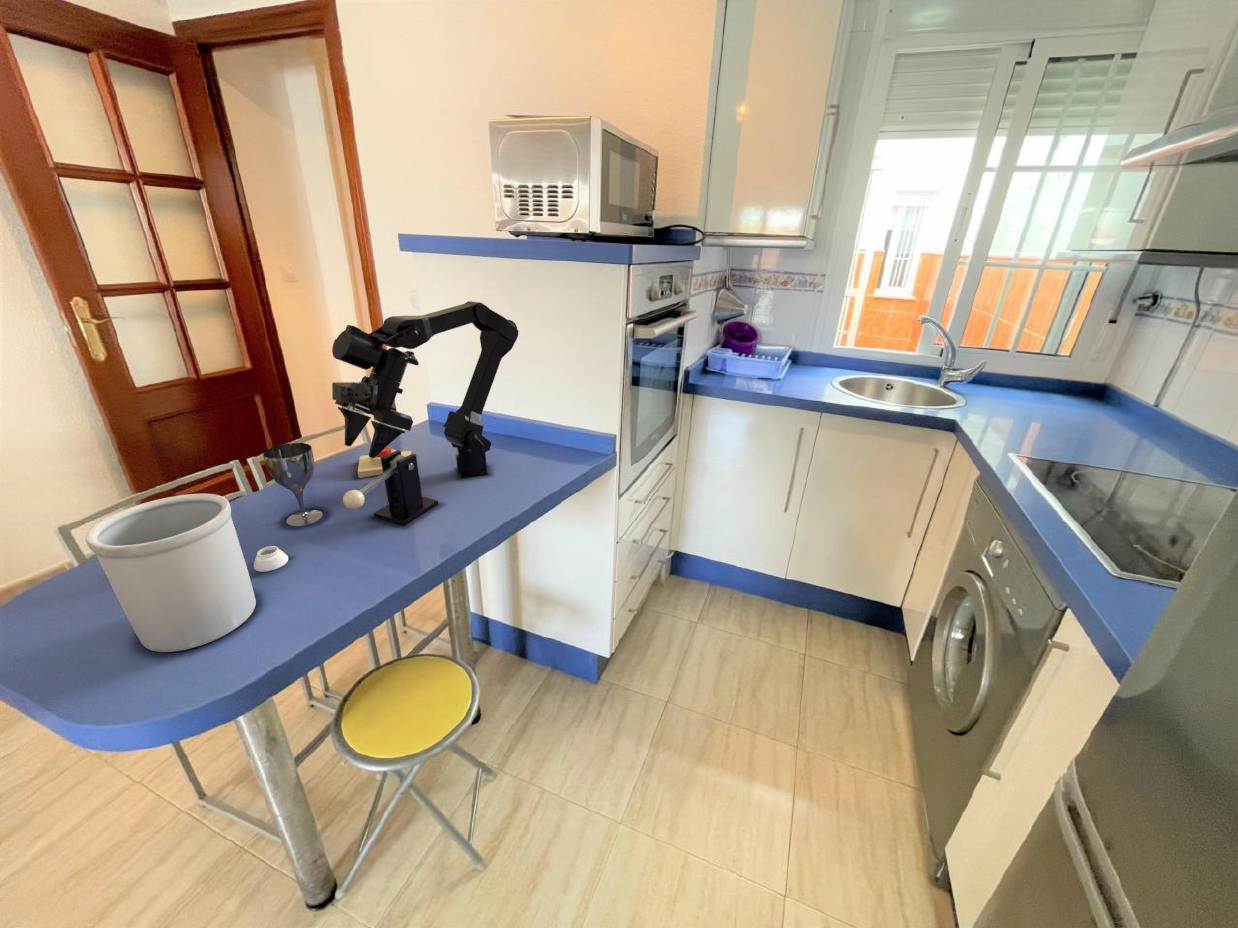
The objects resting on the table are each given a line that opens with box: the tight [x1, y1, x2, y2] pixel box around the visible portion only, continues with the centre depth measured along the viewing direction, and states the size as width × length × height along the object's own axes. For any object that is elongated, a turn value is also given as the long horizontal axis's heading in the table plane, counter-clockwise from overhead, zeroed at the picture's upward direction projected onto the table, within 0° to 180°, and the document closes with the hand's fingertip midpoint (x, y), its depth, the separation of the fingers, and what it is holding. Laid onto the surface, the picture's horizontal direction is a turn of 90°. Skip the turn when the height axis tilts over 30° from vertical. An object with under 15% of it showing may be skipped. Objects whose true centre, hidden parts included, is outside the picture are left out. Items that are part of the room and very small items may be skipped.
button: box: [376, 446, 392, 457], centre depth 124 cm, size 4×4×2 cm
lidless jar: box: [252, 545, 289, 573], centre depth 87 cm, size 5×3×5 cm
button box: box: [357, 448, 412, 479], centre depth 125 cm, size 12×10×4 cm
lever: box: [342, 455, 406, 510], centre depth 97 cm, size 15×4×4 cm, turn 158°
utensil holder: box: [84, 493, 257, 653], centre depth 71 cm, size 15×15×18 cm
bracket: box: [373, 449, 439, 527], centre depth 103 cm, size 10×8×13 cm
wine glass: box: [262, 442, 323, 527], centre depth 99 cm, size 8×8×15 cm
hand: (359, 451), depth 100 cm, fingers open, 9 cm apart
